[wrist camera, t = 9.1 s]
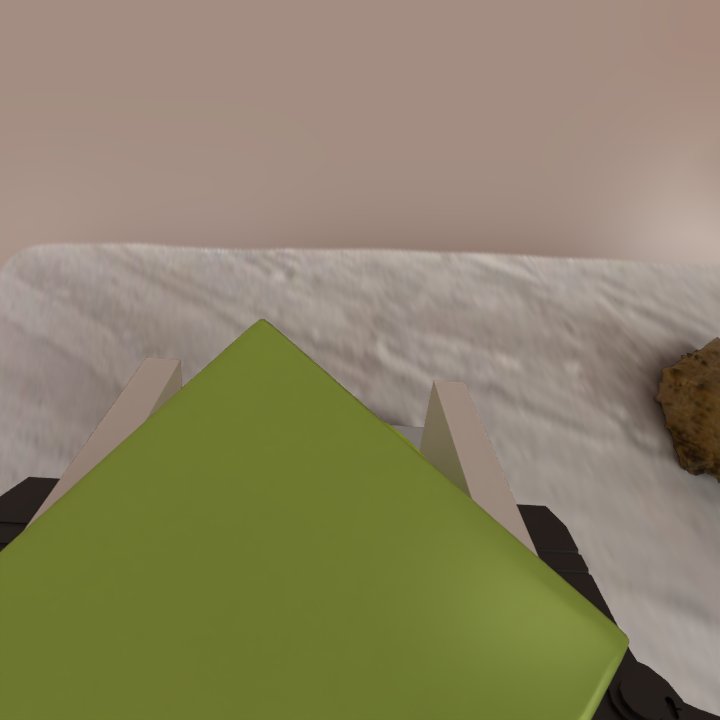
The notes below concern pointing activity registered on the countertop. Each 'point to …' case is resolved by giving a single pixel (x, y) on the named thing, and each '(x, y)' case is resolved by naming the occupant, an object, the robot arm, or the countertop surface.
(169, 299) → the countertop surface
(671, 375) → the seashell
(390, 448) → the soap dispenser
